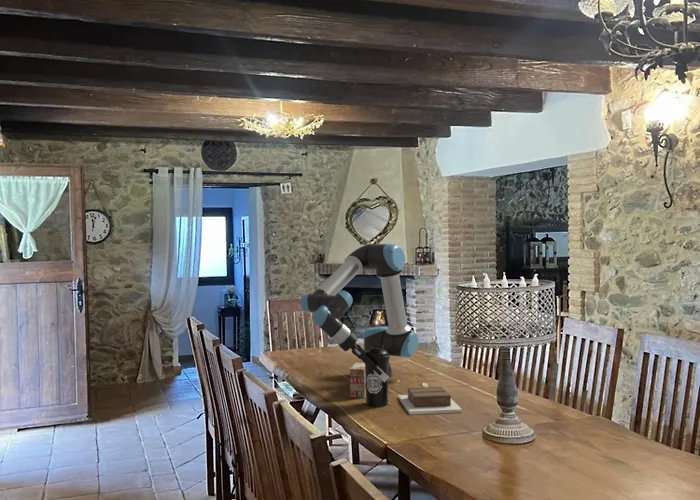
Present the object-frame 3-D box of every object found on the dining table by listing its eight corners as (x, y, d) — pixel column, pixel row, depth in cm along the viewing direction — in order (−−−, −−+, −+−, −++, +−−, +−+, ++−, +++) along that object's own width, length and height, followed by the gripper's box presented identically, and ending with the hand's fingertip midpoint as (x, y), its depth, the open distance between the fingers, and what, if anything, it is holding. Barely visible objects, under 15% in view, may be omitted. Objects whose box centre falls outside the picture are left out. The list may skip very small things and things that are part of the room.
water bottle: (360, 406, 249) (360, 348, 248) (369, 399, 259) (368, 343, 258) (385, 408, 246) (385, 349, 245) (392, 401, 255) (392, 345, 255)
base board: (398, 398, 261) (398, 395, 261) (445, 396, 263) (445, 393, 263) (409, 414, 237) (409, 411, 237) (461, 412, 239) (461, 409, 239)
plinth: (407, 398, 256) (407, 388, 256) (441, 396, 258) (441, 387, 258) (414, 407, 242) (414, 397, 242) (450, 406, 244) (450, 395, 244)
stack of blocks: (359, 385, 284) (359, 358, 283) (373, 386, 282) (373, 358, 282) (349, 397, 263) (349, 368, 263) (364, 398, 262) (364, 368, 261)
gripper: (335, 340, 261) (374, 377, 263) (340, 350, 239) (382, 390, 241) (348, 327, 261) (386, 364, 263) (354, 335, 239) (396, 376, 241)
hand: (384, 376), depth 252 cm, fingers closed on water bottle, 9 cm apart
